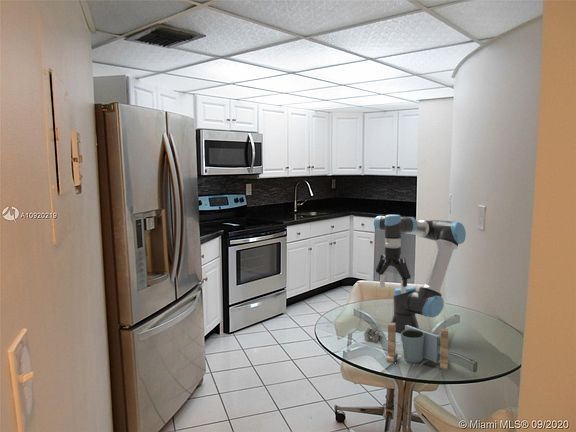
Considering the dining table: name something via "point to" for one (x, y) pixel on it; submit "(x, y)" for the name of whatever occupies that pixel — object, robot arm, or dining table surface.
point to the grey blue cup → (413, 345)
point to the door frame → (393, 352)
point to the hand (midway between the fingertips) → (392, 290)
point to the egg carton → (372, 331)
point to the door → (429, 345)
